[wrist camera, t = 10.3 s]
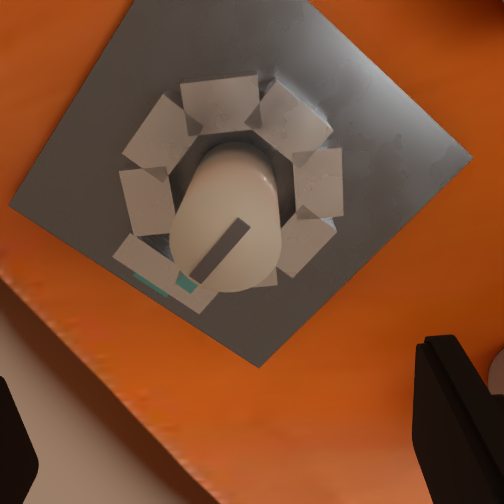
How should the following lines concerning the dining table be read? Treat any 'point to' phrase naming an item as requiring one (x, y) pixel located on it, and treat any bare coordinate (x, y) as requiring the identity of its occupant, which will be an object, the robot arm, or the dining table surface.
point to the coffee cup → (496, 375)
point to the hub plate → (237, 130)
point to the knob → (228, 221)
